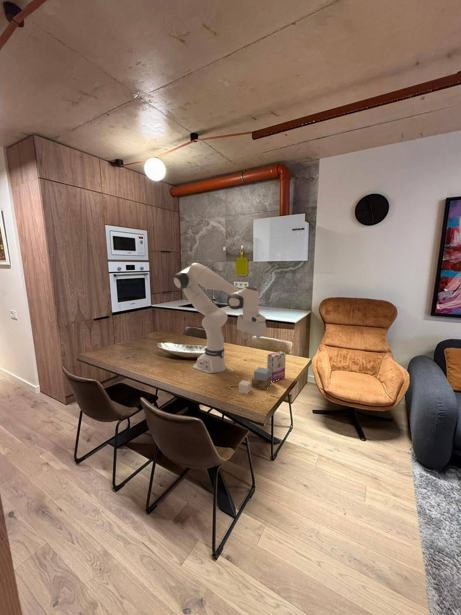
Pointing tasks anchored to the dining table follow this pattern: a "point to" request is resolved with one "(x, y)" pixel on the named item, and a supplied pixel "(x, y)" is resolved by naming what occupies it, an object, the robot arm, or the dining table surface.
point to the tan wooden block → (261, 383)
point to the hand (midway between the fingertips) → (250, 340)
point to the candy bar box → (276, 365)
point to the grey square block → (261, 374)
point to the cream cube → (244, 387)
